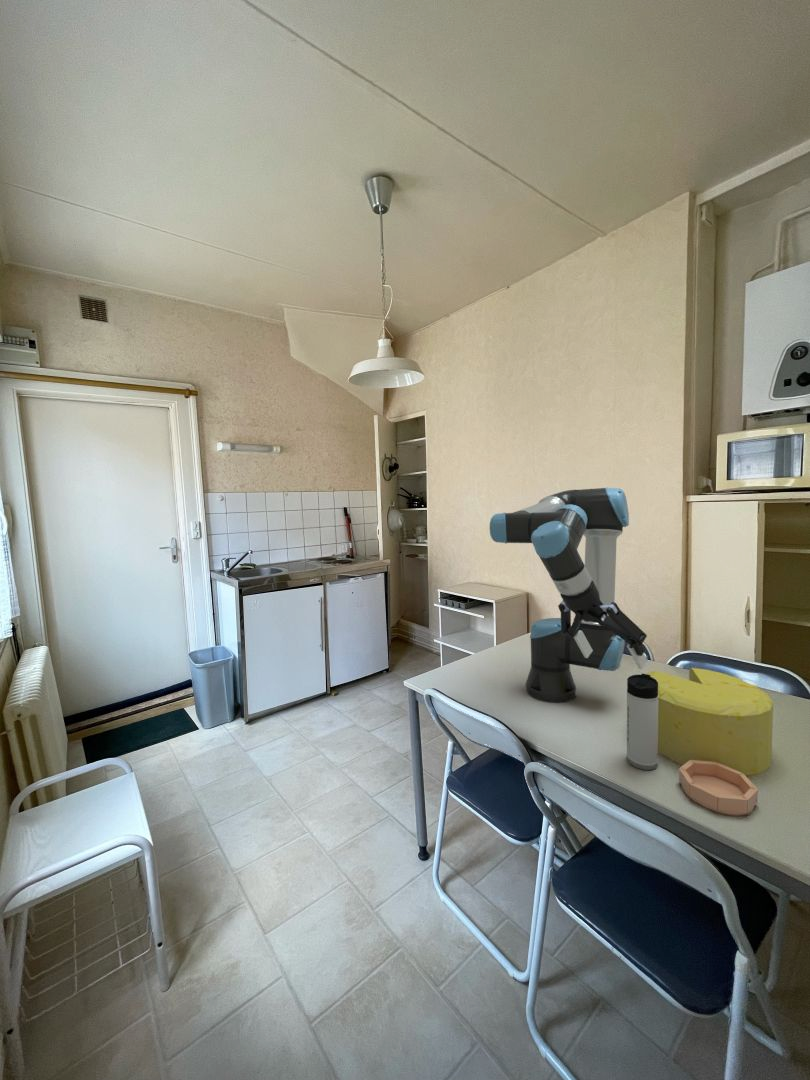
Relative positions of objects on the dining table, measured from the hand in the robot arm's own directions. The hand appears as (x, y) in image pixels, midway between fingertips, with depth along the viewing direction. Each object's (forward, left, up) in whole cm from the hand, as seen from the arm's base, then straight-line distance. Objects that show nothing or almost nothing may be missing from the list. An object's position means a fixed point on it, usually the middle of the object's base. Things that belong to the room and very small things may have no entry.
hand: (614, 659), depth 99 cm
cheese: (+22, +9, -24) cm, 34 cm away
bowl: (+17, -11, -24) cm, 31 cm away
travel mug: (+6, -2, -24) cm, 25 cm away
